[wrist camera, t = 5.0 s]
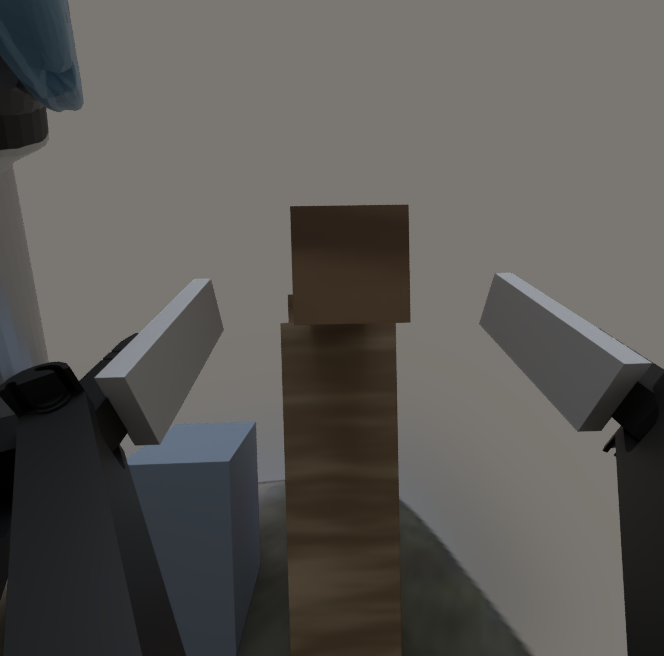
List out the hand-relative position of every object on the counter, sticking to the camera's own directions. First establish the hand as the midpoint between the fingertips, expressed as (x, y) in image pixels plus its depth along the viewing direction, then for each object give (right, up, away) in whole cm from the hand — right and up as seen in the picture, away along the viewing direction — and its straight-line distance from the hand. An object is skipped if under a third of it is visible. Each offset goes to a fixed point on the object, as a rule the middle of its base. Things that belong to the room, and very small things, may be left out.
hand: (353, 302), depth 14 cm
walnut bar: (-1, -1, +8) cm, 8 cm away
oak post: (0, -32, +14) cm, 35 cm away
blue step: (-15, -32, +18) cm, 39 cm away
